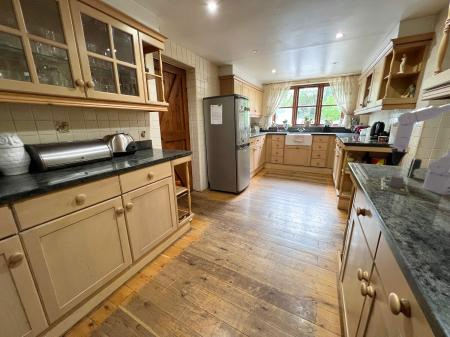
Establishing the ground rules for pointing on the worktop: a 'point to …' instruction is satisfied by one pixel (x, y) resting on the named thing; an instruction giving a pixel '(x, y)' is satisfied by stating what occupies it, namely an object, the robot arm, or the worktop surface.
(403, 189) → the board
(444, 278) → the worktop surface
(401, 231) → the worktop surface
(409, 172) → the battery charger
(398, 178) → the plug
